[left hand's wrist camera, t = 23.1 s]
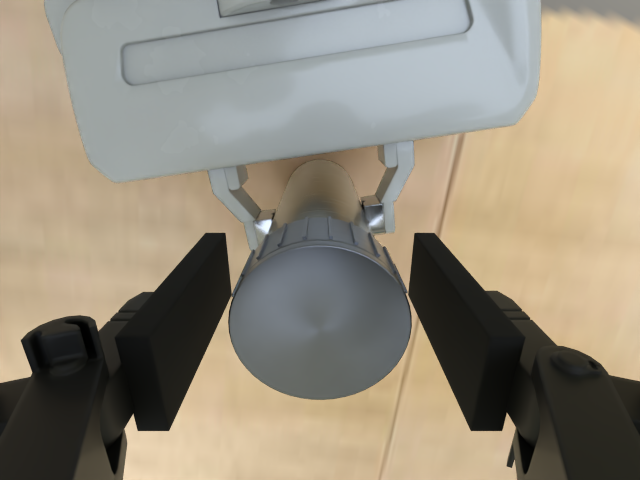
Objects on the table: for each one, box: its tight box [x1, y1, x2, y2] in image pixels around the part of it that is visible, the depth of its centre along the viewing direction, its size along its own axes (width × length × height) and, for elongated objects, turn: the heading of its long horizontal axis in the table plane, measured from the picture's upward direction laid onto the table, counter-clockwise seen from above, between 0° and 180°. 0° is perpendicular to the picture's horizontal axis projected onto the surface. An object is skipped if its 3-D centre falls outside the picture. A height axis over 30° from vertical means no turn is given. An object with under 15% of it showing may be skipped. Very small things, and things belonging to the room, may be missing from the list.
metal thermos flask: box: [267, 159, 374, 237], centre depth 18 cm, size 5×5×16 cm
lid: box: [228, 216, 412, 400], centre depth 11 cm, size 5×5×2 cm
